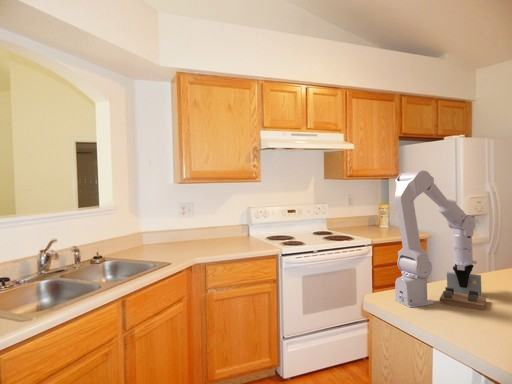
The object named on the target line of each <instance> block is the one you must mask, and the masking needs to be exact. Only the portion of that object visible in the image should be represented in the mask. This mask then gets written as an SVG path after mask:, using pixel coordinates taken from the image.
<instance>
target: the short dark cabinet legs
mask: <svg viewBox="0 0 512 384" xmlns="http://www.w3.org/2000/svg"><path fill="white" fill-rule="evenodd" d="M444 289H445V290H443V291H442V293H443V295H444V297H445V298H451V299H452V295H454V288H449V287H447V286H446V287H444ZM477 298H478V292H477V291H470V290H469V294H468V301H471V302H477Z"/></svg>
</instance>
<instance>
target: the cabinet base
mask: <svg viewBox="0 0 512 384" xmlns="http://www.w3.org/2000/svg"><path fill="white" fill-rule="evenodd" d="M486 298H487V297H486V296H483V295H482V296H478V298H477V302H471V301H468V294H462V293H455V292H454V295H452V299H451V298H445V297H444V295H443V292H442V293H441V295H440V296H439V304H444V305H449V306H456V307H461V308H468V309H474V310H480V311H485V308H486V304H487V299H486Z"/></svg>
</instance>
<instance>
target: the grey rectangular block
mask: <svg viewBox="0 0 512 384" xmlns="http://www.w3.org/2000/svg"><path fill="white" fill-rule="evenodd" d="M446 287H449V288H454V292H455V293H462V294H469V290H470V291H477V292H478V296H482V297H483V293H482V275H481V274H472V273H470V275H469V280H468V286H467V288H462V287H460V286H459V283H458V279H457V275H456V273H455V272H454V271H447V272H446Z"/></svg>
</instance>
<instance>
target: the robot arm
mask: <svg viewBox="0 0 512 384" xmlns="http://www.w3.org/2000/svg"><path fill="white" fill-rule="evenodd" d="M394 182H395V183H394V184H395V193H394V202H395V208H396V209H395V210H396V214H397V220H398V227H399V233H400V237H401V245H402V246H401V247H402V248H401V249H400V250H398V251H397V256H398V258H397V260H396V261H397V267H398V269H399V270H400V272H401V273H400V274H401V276H400V277H396V280H395V283H394V285H395V286H394V288H395V289H394V291H395V297H394V301H396V302H398V303H399V304H402V305H403V306H406V307H408V308H416V307H423V306H429V305H434V304H435V303H434V301H431V300H429V299H428V283H427V282H428V280H427V279H428V278H429V276H430V275H431V273H432V271H433V265H432V262H431V261H430V259H429V255H428V252H427V251H426V250H424V248H422V245H421V239H420V234H419V227H418V219H417V214H416V209H415V202H414V201H415V199H416V198H418V197H419V196H420V195H421V194H422V193H423V194H425V195H426V196H427V197H428V198H429V199H430V200H432V201H433V202H434V203H435V204H436V205H437V211H438V212H439V213H440V214H441V215H442V216H443V217H444V219H446V222H447V224H448V228H450V229H452V248H453V249H452V251H453V253H452V254H453V255H452V256H453V259H452V262H453V264H454V266H452V270H453V272H455V273H456V275H457V279H458V283H459V286H460V287H462V288H467V286H468V280H469V275H470V274H472V271H473V268H474V264H475V265H477V264H478V261H477V260H474V258H473V236H474V230H475V228H476V225H477V222H476V221H475V218H474V217H472V215H470V214H466V212H465V211H464V210H463V209H462V208H461V207H460V206H459V205H458V204H457V201H456V200H453V199H449V198H448V199H447V197H446V196H445V194H443V192H442V191H441V190H440V188H439V187H438V186H437V184H435V183H434V182H435V178H434V177H433V176H432V175H431V174H430V173H429V172H428V171H427V170H420V171H408V172H406V171H403V172H401V173H399V174H398V176H397V177H396V179H395V180H394Z"/></svg>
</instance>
